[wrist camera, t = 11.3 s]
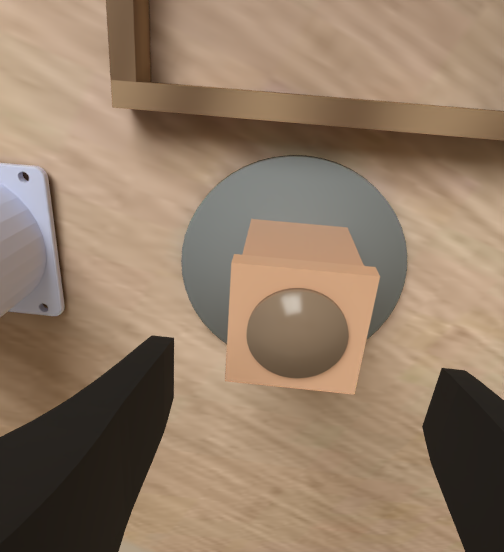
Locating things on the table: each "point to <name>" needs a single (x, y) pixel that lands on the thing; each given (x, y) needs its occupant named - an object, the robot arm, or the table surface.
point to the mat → (297, 209)
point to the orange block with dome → (299, 308)
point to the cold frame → (267, 93)
